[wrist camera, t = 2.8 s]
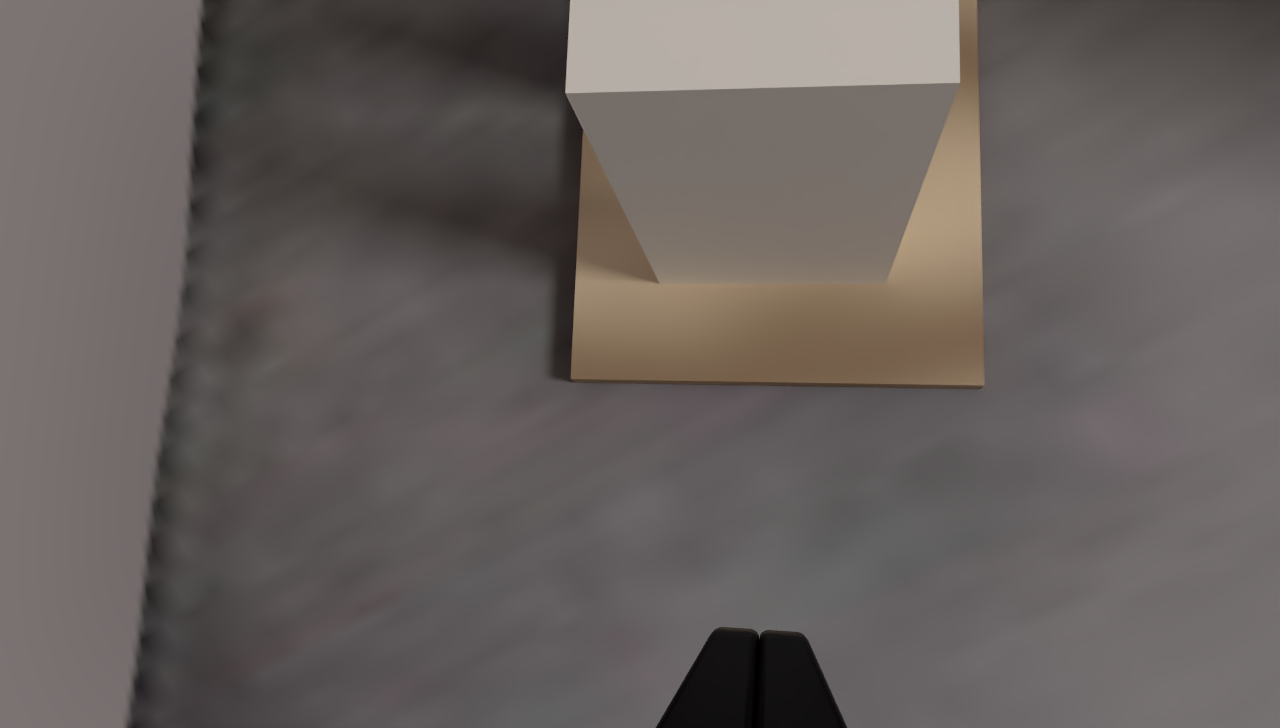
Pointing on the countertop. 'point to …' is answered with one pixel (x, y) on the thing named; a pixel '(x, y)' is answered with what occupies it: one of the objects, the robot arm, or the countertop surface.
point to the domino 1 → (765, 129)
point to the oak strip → (798, 292)
